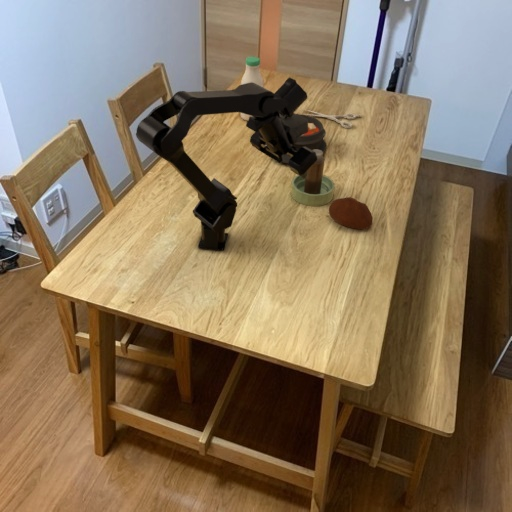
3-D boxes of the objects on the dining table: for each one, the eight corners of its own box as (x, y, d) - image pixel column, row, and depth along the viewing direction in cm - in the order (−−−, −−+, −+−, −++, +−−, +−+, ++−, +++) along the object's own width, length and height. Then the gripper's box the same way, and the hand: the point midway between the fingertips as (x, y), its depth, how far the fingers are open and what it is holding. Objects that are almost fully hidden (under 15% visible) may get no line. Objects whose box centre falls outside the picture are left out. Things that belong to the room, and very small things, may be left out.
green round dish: (332, 209, 142) (334, 197, 139) (289, 205, 142) (290, 193, 140) (332, 186, 150) (334, 174, 148) (292, 182, 151) (293, 170, 149)
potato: (369, 238, 133) (374, 212, 127) (323, 229, 135) (327, 203, 130) (372, 220, 138) (378, 195, 133) (329, 212, 140) (332, 187, 135)
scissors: (355, 127, 177) (298, 116, 181) (355, 129, 177) (297, 118, 182) (361, 114, 185) (306, 104, 189) (361, 116, 185) (306, 106, 190)
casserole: (317, 174, 155) (320, 148, 150) (256, 163, 159) (257, 138, 153) (332, 136, 174) (335, 112, 168) (277, 127, 177) (279, 103, 172)
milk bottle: (237, 119, 181) (237, 61, 168) (244, 110, 186) (245, 53, 173) (258, 123, 179) (260, 64, 166) (265, 113, 185) (267, 56, 172)
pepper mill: (319, 199, 144) (325, 157, 136) (303, 197, 144) (307, 155, 136) (320, 190, 148) (325, 148, 139) (304, 188, 148) (308, 147, 139)
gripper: (324, 119, 118) (340, 161, 130) (269, 91, 128) (289, 133, 141) (290, 154, 116) (310, 193, 129) (238, 123, 127) (261, 162, 140)
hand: (292, 169), depth 135 cm, fingers open, 9 cm apart
